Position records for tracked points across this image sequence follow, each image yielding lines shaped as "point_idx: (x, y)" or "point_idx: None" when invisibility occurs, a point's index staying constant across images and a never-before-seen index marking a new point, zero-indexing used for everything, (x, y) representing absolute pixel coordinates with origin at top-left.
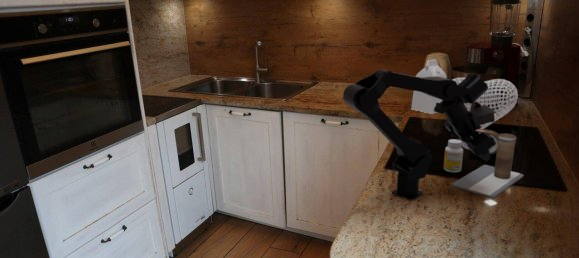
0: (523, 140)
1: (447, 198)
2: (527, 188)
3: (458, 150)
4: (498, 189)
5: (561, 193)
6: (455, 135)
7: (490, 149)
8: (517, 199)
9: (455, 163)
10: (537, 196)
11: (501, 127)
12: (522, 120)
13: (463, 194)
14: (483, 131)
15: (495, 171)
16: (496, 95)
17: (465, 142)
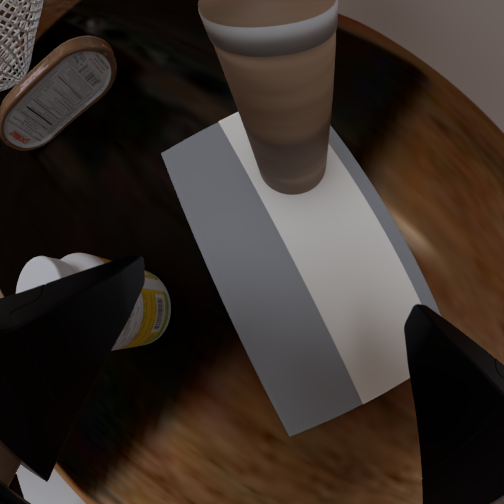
0: (107, 12)
1: (376, 496)
2: (401, 149)
3: None
4: (410, 278)
5: (440, 95)
6: (57, 458)
7: (98, 83)
8: (473, 258)
9: (147, 325)
10: (461, 172)
11: (50, 33)
12: (62, 4)
13: (378, 435)
14: (42, 70)
15: (283, 183)
16: (2, 8)
17: (114, 341)
